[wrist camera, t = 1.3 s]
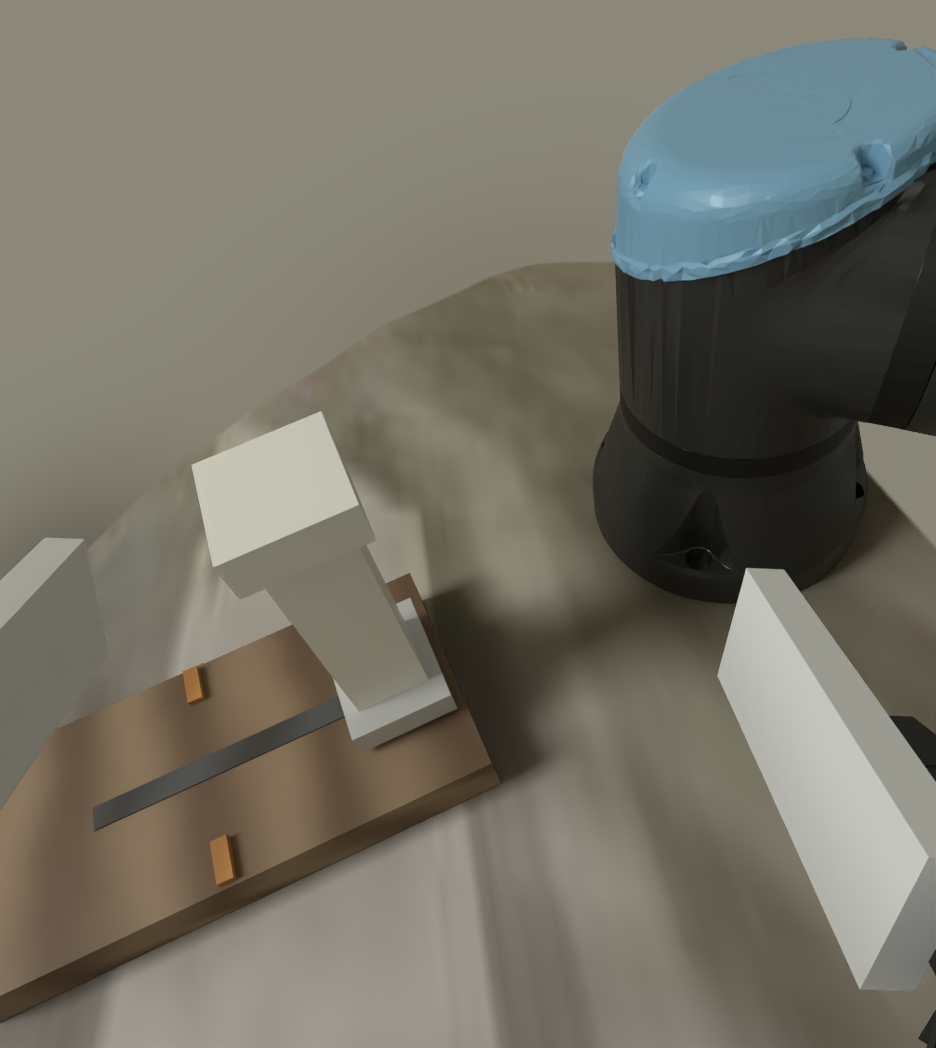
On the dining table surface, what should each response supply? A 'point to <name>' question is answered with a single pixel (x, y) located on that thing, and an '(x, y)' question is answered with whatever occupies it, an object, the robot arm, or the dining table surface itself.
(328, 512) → the fader knob
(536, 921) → the dining table surface
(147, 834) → the fader console
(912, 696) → the dining table surface
